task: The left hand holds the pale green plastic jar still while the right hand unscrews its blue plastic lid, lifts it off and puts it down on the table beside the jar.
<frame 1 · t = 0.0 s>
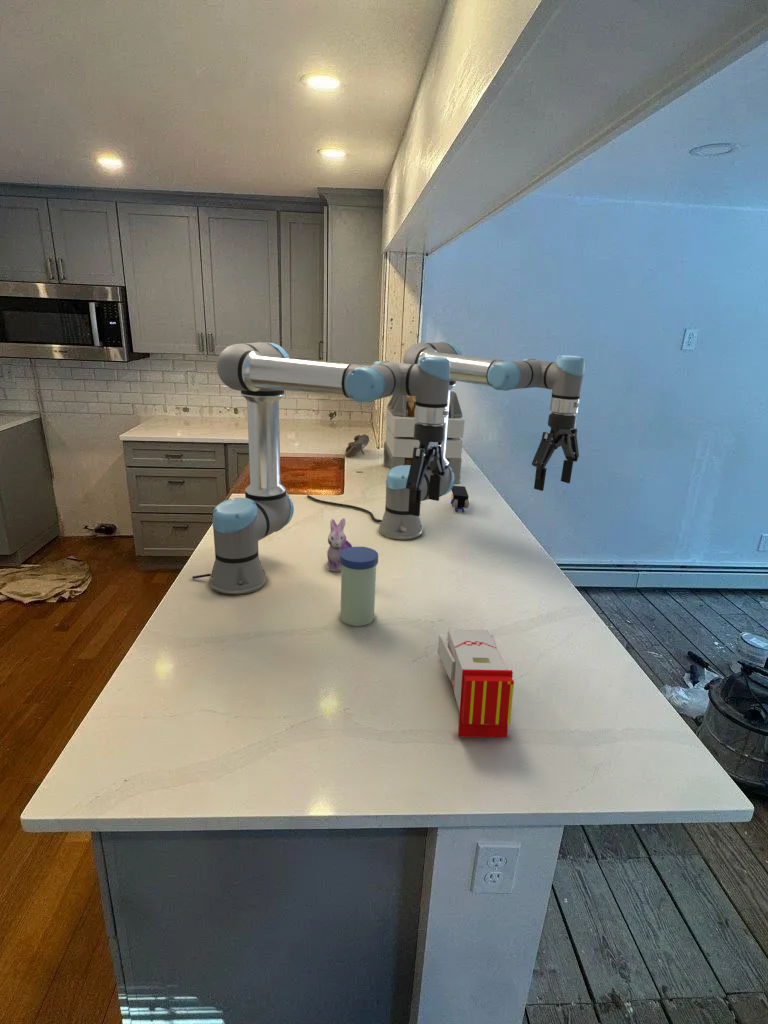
left hand: (424, 507, 143), 28 cm above the counter, tool pointing down, fingers open, 13 cm apart
right hand: (552, 485, 166), 28 cm above the counter, tool pointing down, fingers open, 13 cm apart
jar: (357, 617, 145), on the counter
toy: (469, 691, 119), on the counter
figurine: (340, 566, 173), on the counter
figurine character: (458, 508, 229), on the counter
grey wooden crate: (419, 473, 275), on the counter
lid: (359, 555, 139), point 17 cm above the counter, screwed on, not yet turned
grey animal figure: (356, 453, 306), on the counter
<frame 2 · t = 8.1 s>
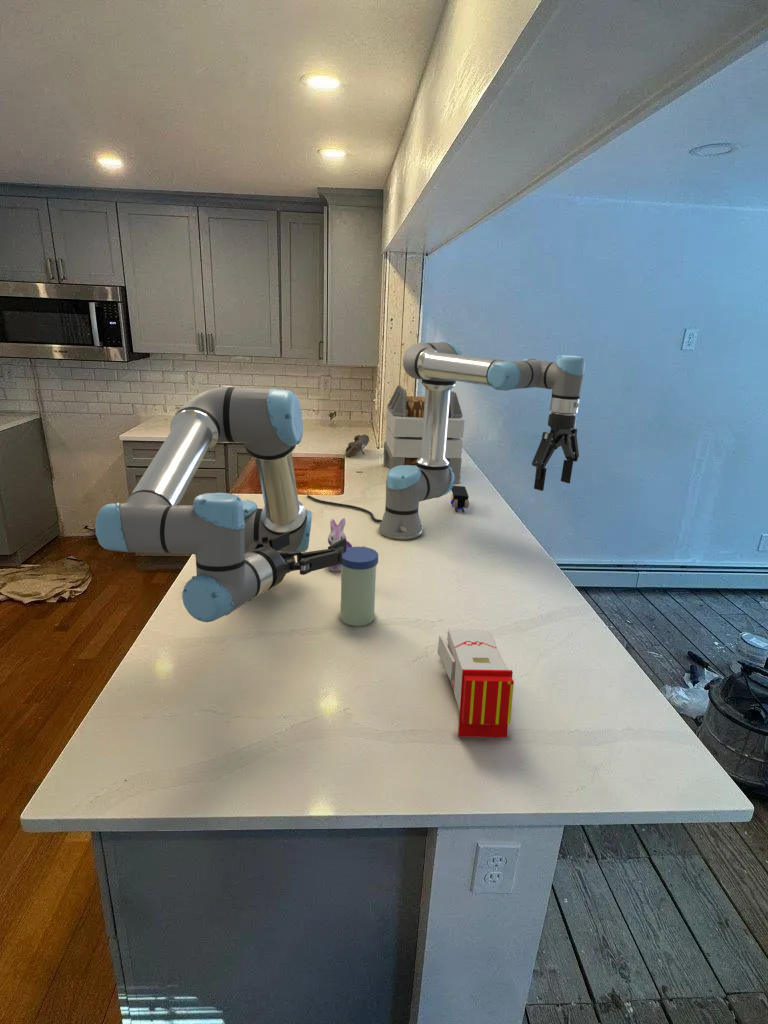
left hand: (315, 541, 120), 28 cm above the counter, tool horizontal, fingers open, 13 cm apart
right hand: (552, 485, 166), 28 cm above the counter, tool pointing down, fingers open, 13 cm apart
nothing on the counter moved.
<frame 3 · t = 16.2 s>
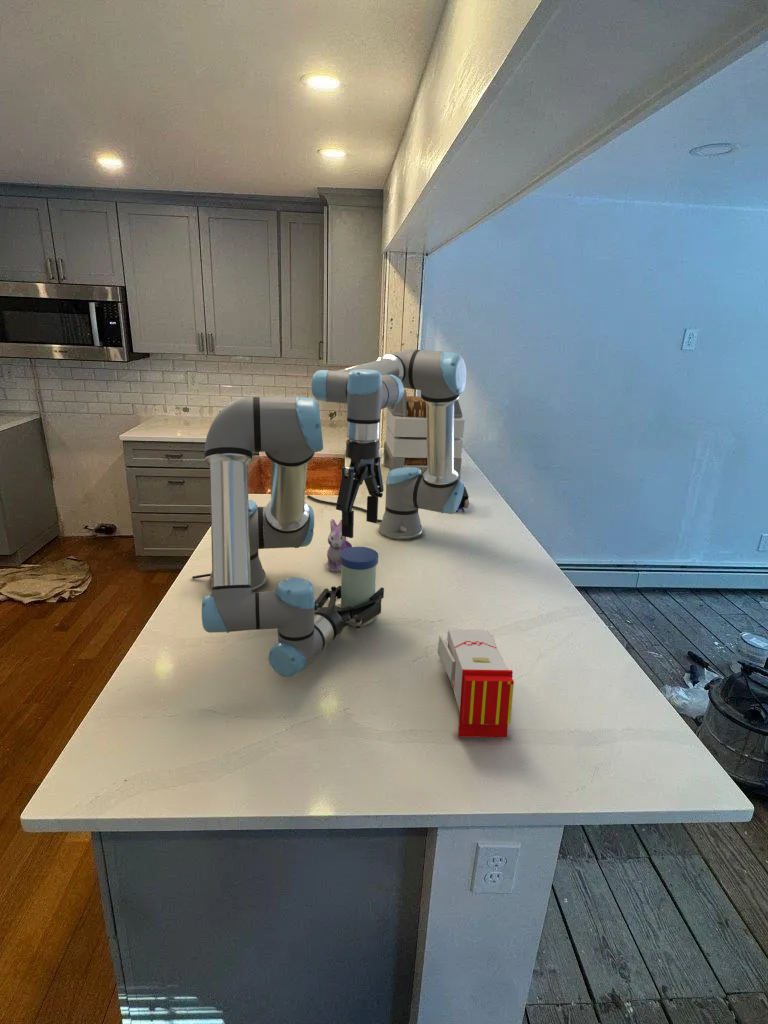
left hand: (366, 588, 147), 6 cm above the counter, tool horizontal, fingers closed on jar, 9 cm apart
right hand: (360, 529, 137), 24 cm above the counter, tool pointing down, fingers open, 11 cm apart
jar: (357, 617, 145), on the counter, touching left hand
everything else where it was.
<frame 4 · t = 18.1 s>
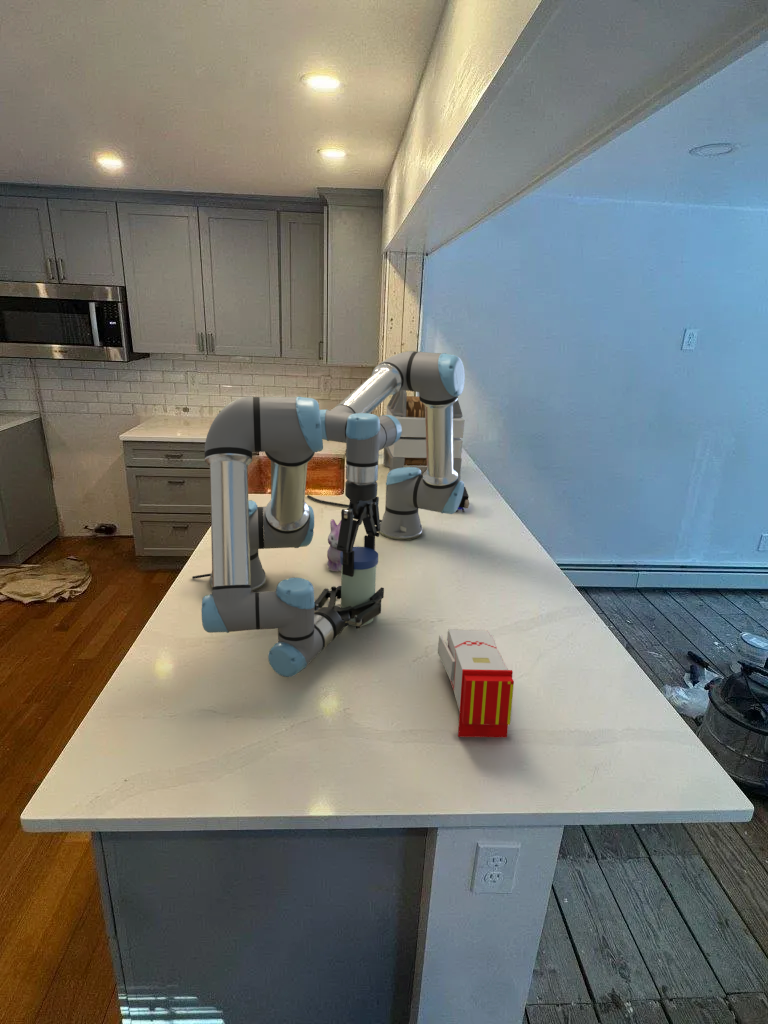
left hand: (366, 588, 147), 6 cm above the counter, tool horizontal, fingers closed on jar, 9 cm apart
right hand: (358, 567, 140), 14 cm above the counter, tool pointing down, fingers closed on lid, 9 cm apart
jar: (357, 617, 145), on the counter, touching left hand
lid: (359, 555, 139), point 17 cm above the counter, screwed on, not yet turned, touching right hand
everything else where it was.
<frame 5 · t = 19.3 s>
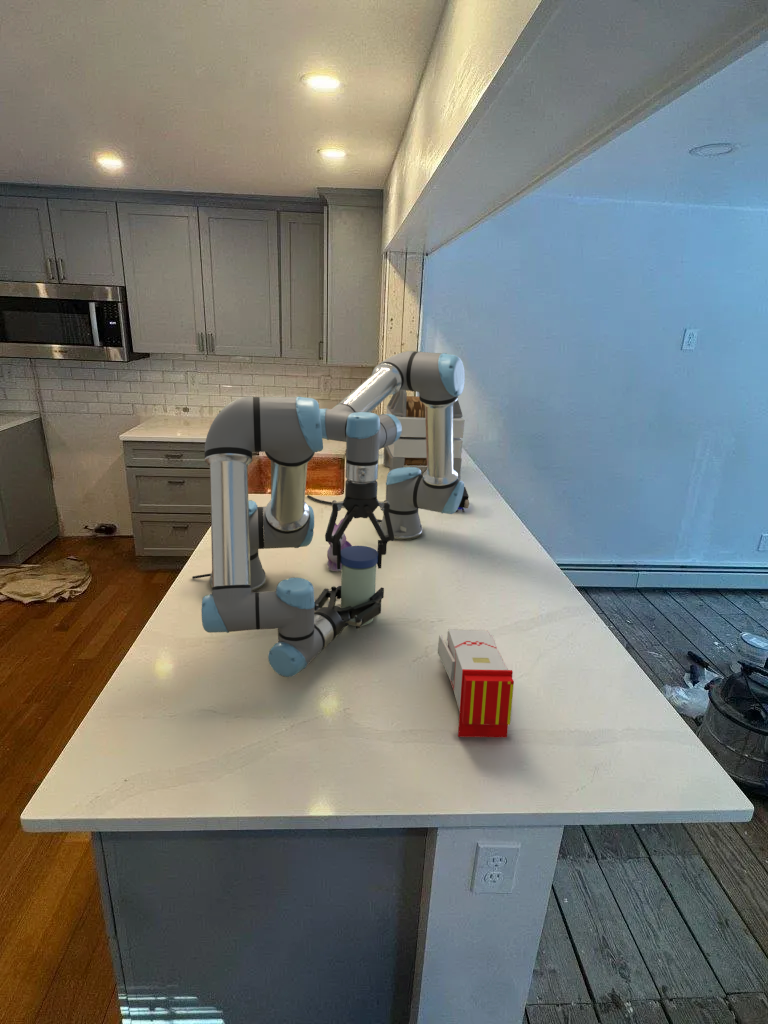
left hand: (366, 588, 147), 6 cm above the counter, tool horizontal, fingers closed on jar, 9 cm apart
right hand: (358, 566, 140), 14 cm above the counter, tool pointing down, fingers closed on lid, 9 cm apart
jar: (357, 617, 145), on the counter, touching left hand
lid: (359, 554, 139), point 18 cm above the counter, off its thread, touching right hand
everything else where it was.
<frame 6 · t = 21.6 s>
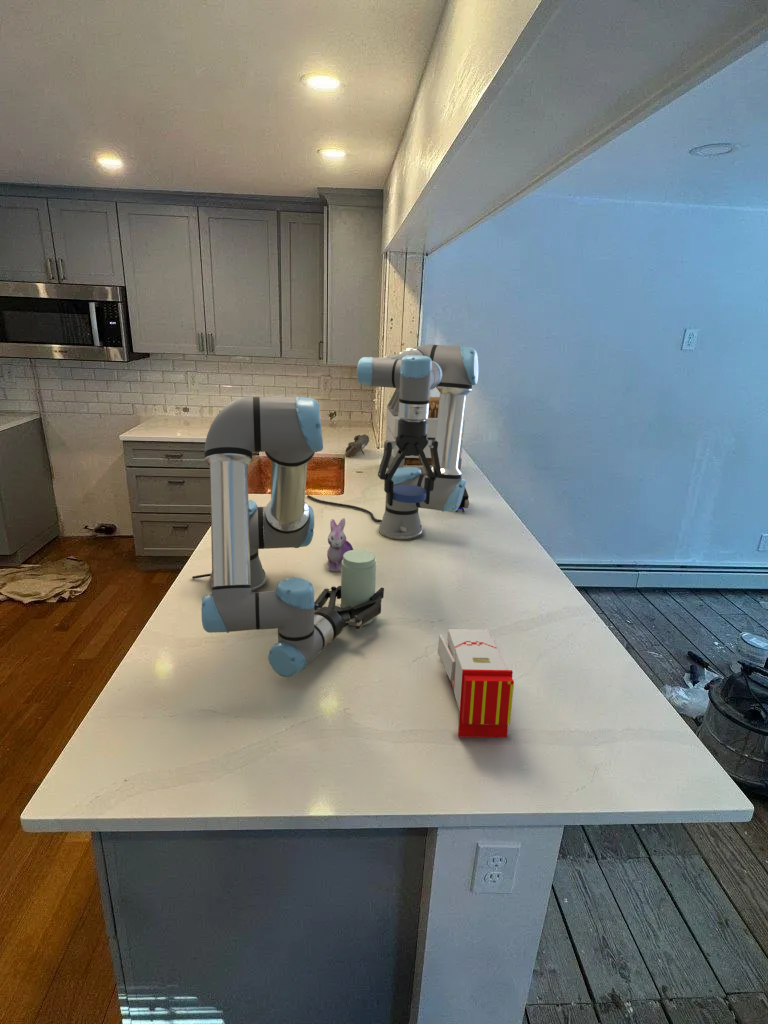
left hand: (366, 588, 147), 6 cm above the counter, tool horizontal, fingers closed on jar, 9 cm apart
right hand: (408, 503, 150), 26 cm above the counter, tool pointing down, fingers closed on lid, 9 cm apart
jar: (357, 617, 145), on the counter, touching left hand
lid: (408, 491, 149), point 30 cm above the counter, off its thread, touching right hand
everything else where it was.
when the right hand's fingers open (0 cm above the counter, at t = 25.8 s): lid drops 2 cm, point 2 cm above the counter.
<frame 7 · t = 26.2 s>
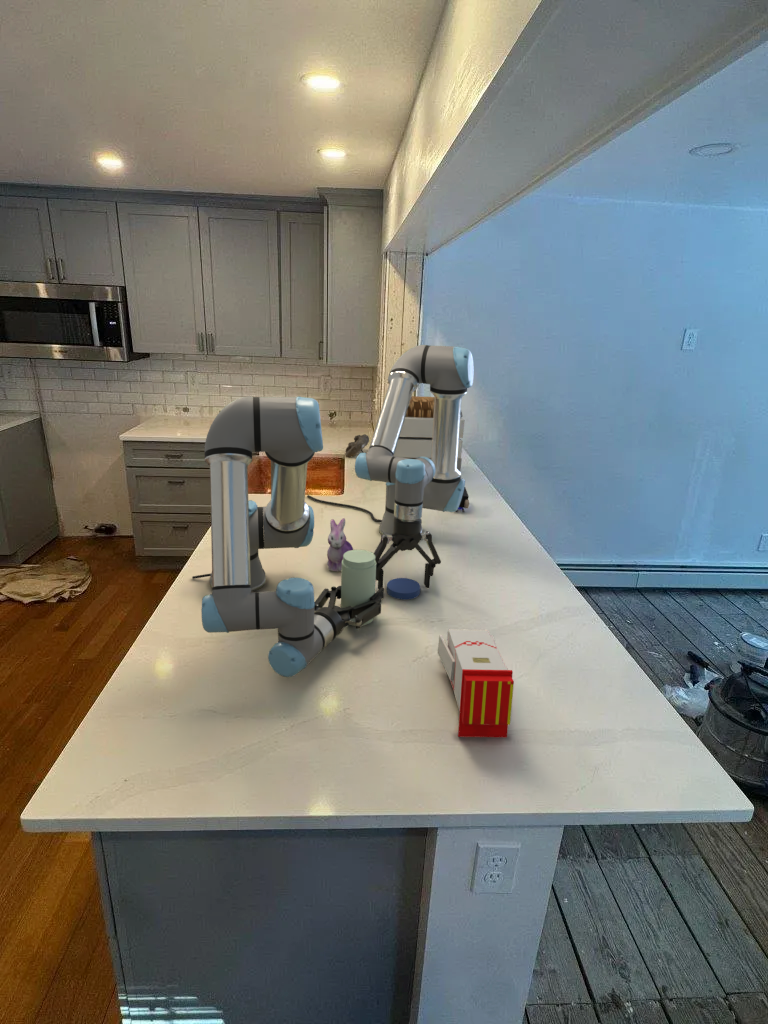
left hand: (366, 588, 147), 6 cm above the counter, tool horizontal, fingers closed on jar, 9 cm apart
right hand: (403, 588, 159), 1 cm above the counter, tool pointing down, fingers open, 13 cm apart
jar: (357, 617, 145), on the counter, touching left hand
lid: (403, 586, 159), point 2 cm above the counter, off its thread
everything else where it was.
when the left hand's fingers open (6 cm above the counter, at t = 26.8 s): jar stays where it is, on the counter.
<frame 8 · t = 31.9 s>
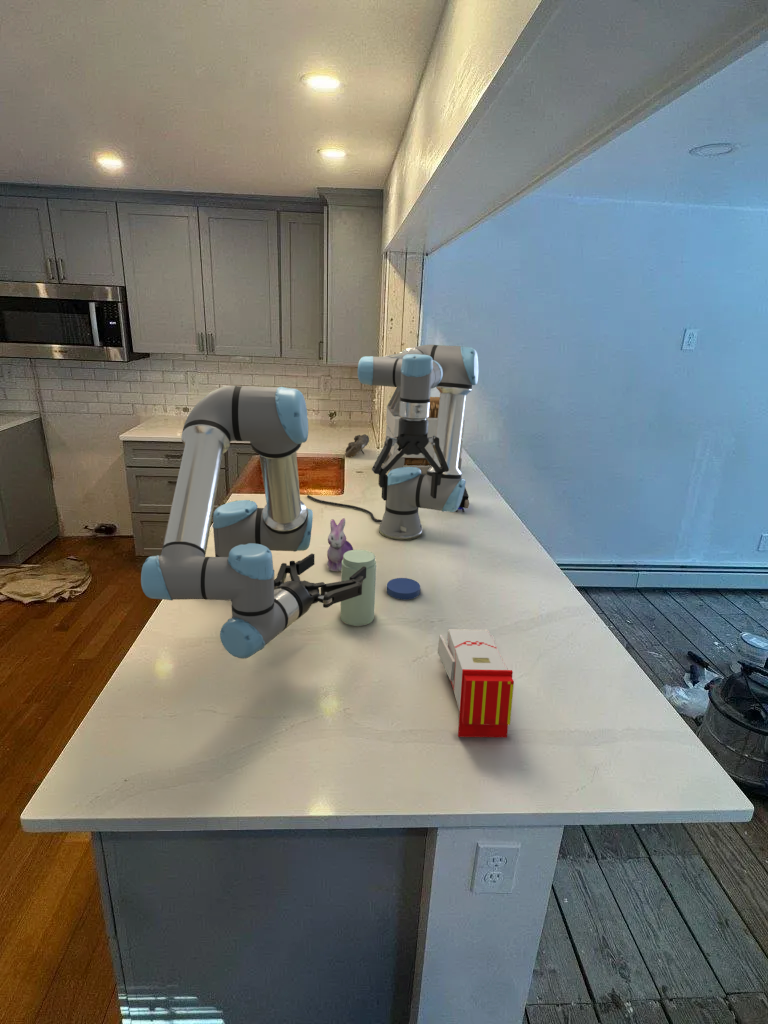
left hand: (338, 565, 130), 19 cm above the counter, tool horizontal, fingers open, 13 cm apart
right hand: (408, 498, 150), 28 cm above the counter, tool pointing down, fingers open, 13 cm apart
jar: (357, 617, 145), on the counter
everything else where it was.
at the end: lid came off its thread; lid point 1.6 cm above the counter; the left hand is holding nothing; the right hand is holding nothing; jar tilted 0°; jar moved 0.0 cm from its start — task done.
